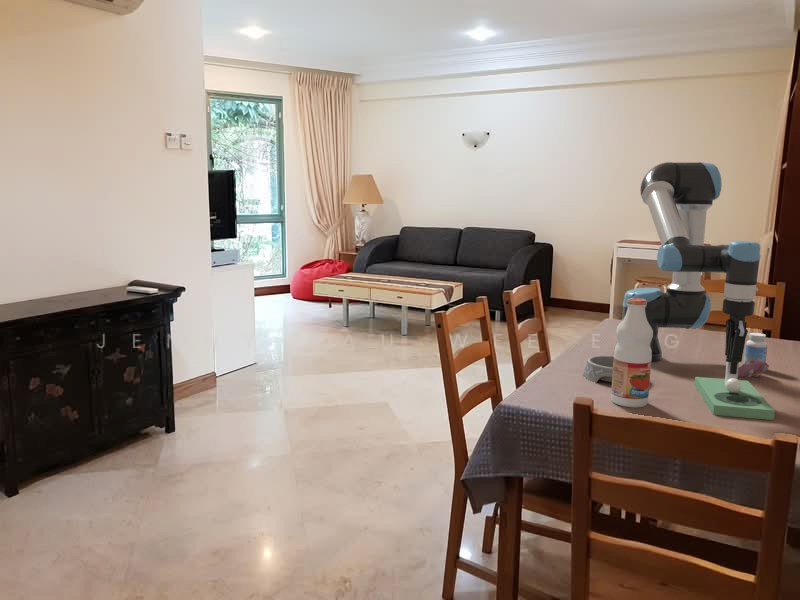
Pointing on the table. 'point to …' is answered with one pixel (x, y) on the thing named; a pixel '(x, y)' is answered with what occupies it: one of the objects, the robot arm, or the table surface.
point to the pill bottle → (756, 348)
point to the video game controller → (752, 368)
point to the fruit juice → (632, 357)
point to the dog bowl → (599, 368)
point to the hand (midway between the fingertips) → (730, 384)
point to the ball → (733, 385)
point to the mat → (733, 399)
